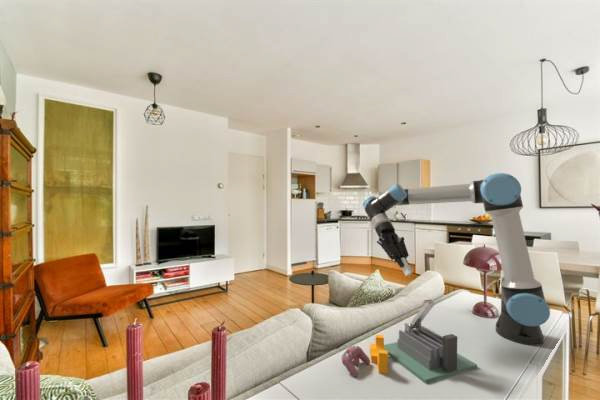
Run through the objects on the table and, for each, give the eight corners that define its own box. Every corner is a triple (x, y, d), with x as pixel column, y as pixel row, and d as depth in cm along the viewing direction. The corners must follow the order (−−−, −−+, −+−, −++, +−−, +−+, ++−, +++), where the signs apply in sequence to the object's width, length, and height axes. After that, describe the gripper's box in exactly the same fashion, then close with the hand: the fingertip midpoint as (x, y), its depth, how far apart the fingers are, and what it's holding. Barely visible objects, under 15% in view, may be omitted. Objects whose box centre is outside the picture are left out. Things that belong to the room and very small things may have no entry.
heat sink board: (426, 338, 109) (426, 308, 109) (477, 367, 90) (477, 332, 90) (380, 348, 100) (380, 316, 100) (425, 383, 81) (425, 344, 81)
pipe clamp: (370, 352, 98) (370, 334, 98) (382, 353, 97) (383, 335, 97) (372, 373, 86) (373, 352, 86) (387, 374, 85) (387, 353, 85)
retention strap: (416, 328, 101) (413, 323, 103) (436, 303, 93) (432, 298, 95) (409, 330, 100) (406, 324, 101) (429, 305, 92) (425, 299, 94)
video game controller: (360, 364, 93) (352, 342, 95) (372, 363, 90) (363, 340, 92) (345, 379, 85) (336, 354, 87) (357, 377, 83) (348, 353, 85)
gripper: (390, 231, 128) (417, 277, 112) (366, 231, 123) (390, 280, 107) (399, 220, 123) (427, 267, 107) (374, 220, 118) (400, 270, 102)
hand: (409, 274), depth 107 cm, fingers closed
